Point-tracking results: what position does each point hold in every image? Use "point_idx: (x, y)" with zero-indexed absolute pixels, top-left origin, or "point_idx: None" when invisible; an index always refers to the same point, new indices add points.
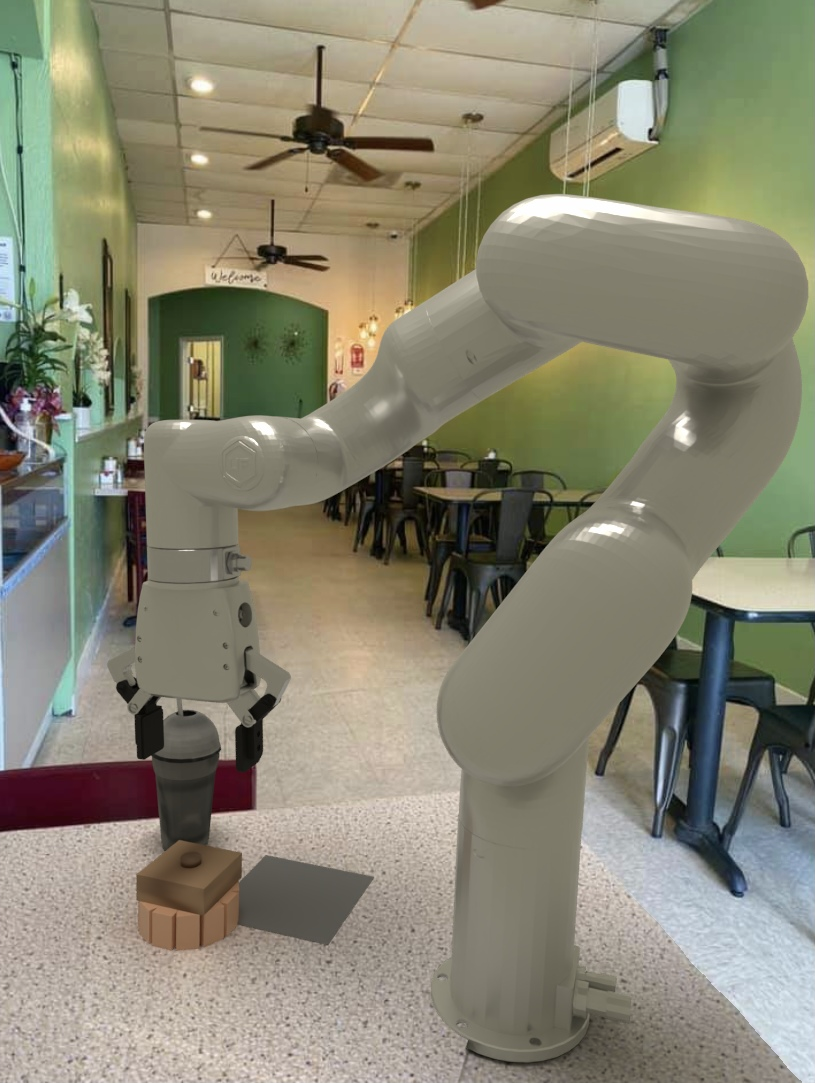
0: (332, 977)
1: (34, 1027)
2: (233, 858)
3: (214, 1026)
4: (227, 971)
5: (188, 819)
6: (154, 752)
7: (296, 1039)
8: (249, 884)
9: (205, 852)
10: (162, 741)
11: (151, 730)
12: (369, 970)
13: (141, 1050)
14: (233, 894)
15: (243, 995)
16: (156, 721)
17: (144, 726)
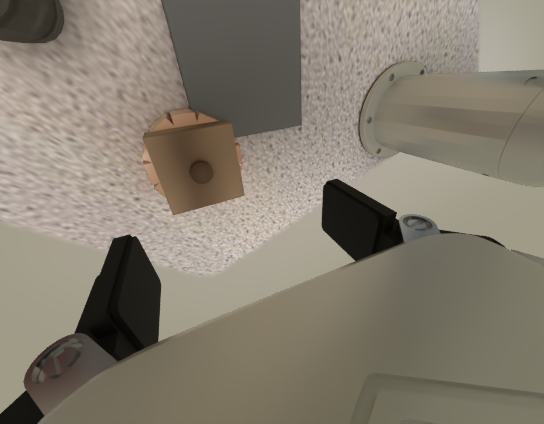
0: (307, 142)
1: (191, 262)
2: (232, 139)
3: (270, 209)
4: (249, 173)
5: (38, 25)
6: (148, 261)
7: (308, 192)
8: (194, 70)
9: (196, 145)
10: (135, 248)
11: (148, 306)
12: (324, 123)
13: (250, 238)
14: (237, 149)
15: (270, 184)
16: (137, 305)
17: (156, 337)
